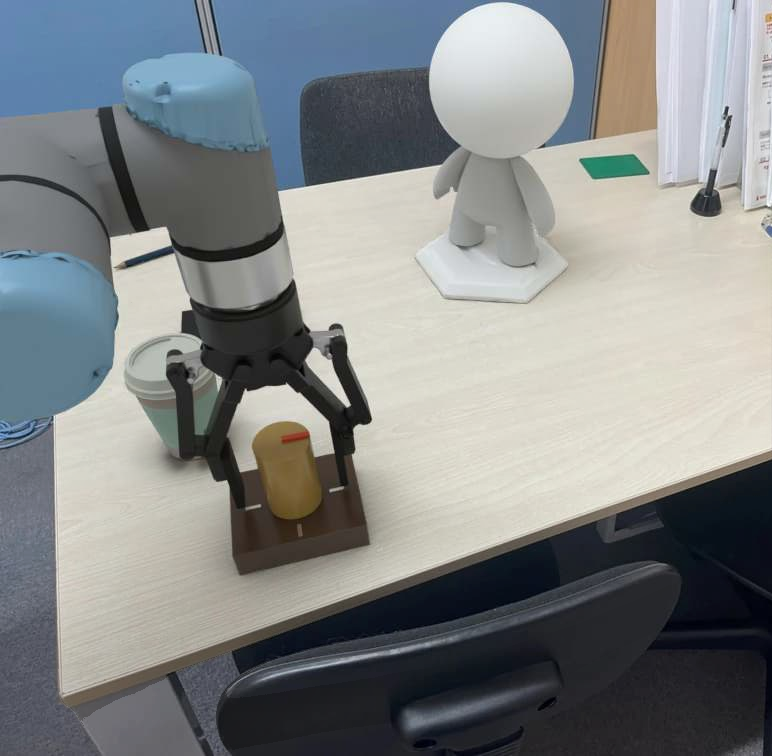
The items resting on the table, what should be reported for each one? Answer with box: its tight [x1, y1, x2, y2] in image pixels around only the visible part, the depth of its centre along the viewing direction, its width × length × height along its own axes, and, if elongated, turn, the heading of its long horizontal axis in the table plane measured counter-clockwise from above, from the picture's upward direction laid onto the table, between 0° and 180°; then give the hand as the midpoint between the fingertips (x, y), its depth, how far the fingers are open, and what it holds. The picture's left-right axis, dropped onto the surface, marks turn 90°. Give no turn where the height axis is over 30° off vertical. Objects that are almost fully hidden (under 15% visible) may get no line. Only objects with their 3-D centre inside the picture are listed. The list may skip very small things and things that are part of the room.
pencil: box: [113, 244, 174, 269], centre depth 105 cm, size 1×1×15 cm
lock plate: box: [228, 452, 371, 576], centre depth 69 cm, size 12×10×3 cm
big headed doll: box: [414, 1, 575, 304], centre depth 95 cm, size 20×23×35 cm
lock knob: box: [251, 420, 322, 519], centre depth 65 cm, size 5×5×8 cm
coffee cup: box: [123, 332, 219, 461], centre depth 73 cm, size 8×9×12 cm
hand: (292, 486), depth 67 cm, fingers open, 9 cm apart
